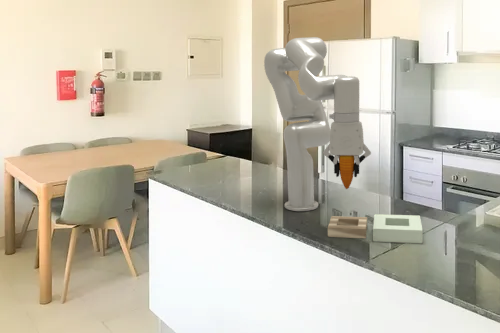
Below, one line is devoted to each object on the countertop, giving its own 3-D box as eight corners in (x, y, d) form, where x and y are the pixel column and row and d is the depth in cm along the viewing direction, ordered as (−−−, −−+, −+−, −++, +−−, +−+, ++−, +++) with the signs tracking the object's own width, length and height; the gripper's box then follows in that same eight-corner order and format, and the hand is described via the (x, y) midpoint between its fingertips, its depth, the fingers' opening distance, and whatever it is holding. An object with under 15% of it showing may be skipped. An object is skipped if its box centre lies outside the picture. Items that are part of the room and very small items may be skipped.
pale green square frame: (374, 226, 167) (374, 214, 166) (419, 227, 163) (419, 215, 162) (373, 241, 154) (373, 228, 153) (422, 243, 150) (422, 230, 149)
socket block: (331, 224, 170) (331, 216, 170) (367, 226, 167) (367, 217, 167) (327, 236, 159) (327, 227, 159) (365, 238, 156) (365, 229, 156)
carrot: (335, 188, 162) (335, 141, 159) (349, 186, 164) (349, 139, 161) (343, 192, 158) (343, 144, 154) (357, 189, 159) (358, 142, 156)
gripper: (317, 119, 154) (317, 178, 159) (375, 119, 150) (374, 179, 154) (320, 116, 161) (320, 172, 166) (375, 115, 157) (375, 173, 161)
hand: (346, 175), depth 160 cm, fingers closed on carrot, 4 cm apart
